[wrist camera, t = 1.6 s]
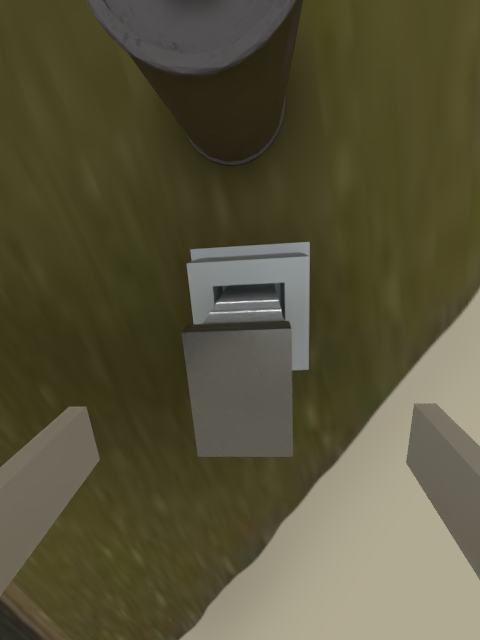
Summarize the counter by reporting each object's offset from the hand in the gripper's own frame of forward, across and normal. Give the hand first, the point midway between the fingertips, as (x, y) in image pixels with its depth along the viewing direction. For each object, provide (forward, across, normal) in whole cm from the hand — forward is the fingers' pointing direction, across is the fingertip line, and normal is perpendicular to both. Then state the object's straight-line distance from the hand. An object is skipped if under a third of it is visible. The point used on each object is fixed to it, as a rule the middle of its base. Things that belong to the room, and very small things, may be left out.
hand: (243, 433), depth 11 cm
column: (+22, 0, 0) cm, 22 cm away
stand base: (+23, 0, 0) cm, 23 cm away
